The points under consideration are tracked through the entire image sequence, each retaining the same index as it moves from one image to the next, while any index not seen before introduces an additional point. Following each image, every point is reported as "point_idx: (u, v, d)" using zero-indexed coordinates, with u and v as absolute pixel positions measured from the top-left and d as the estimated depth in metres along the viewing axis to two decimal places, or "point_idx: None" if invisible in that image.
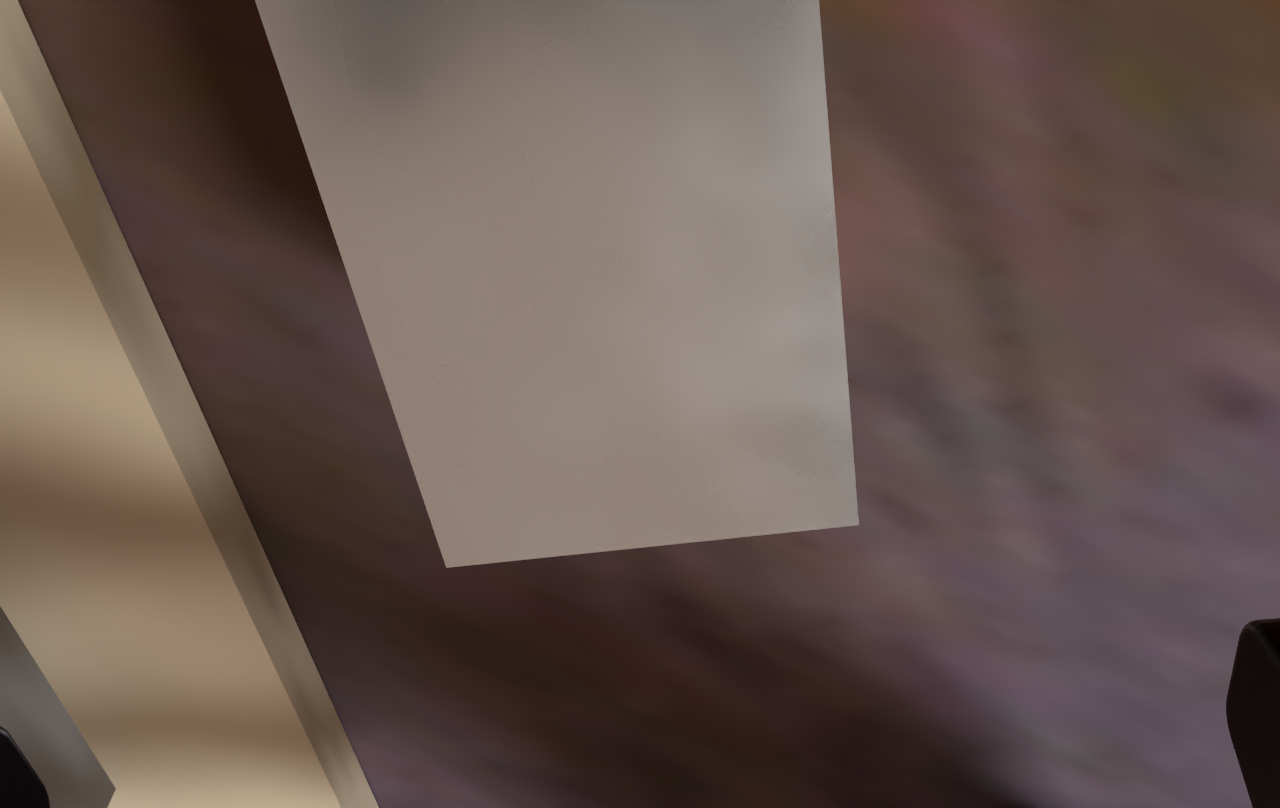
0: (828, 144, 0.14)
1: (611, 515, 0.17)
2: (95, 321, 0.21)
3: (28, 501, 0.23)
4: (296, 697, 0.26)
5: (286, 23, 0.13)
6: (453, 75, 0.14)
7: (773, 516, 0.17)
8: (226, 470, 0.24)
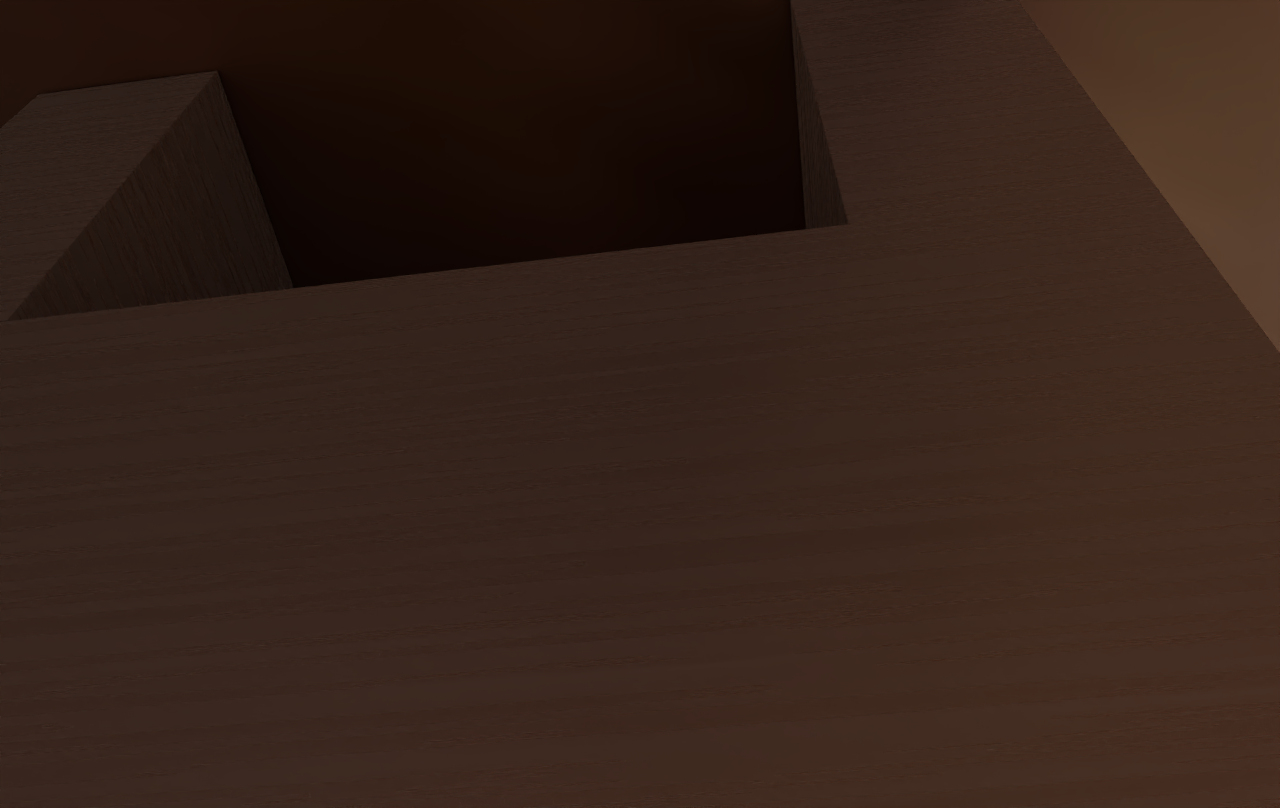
0: None
1: None
2: None
3: None
4: None
5: None
6: None
7: None
8: None
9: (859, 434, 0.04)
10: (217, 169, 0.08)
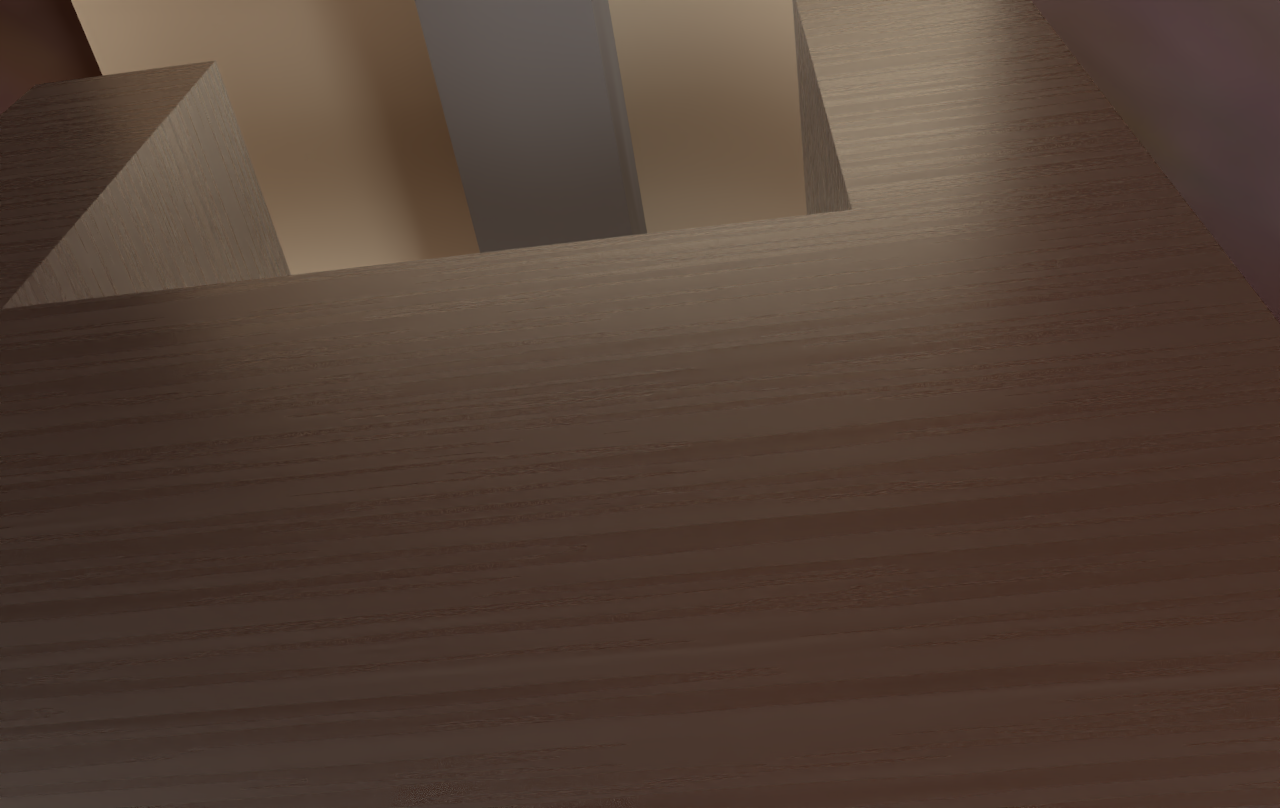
0: None
1: None
2: None
3: (763, 140, 0.17)
4: None
5: None
6: None
7: None
8: None
9: (864, 417, 0.04)
10: (215, 158, 0.07)
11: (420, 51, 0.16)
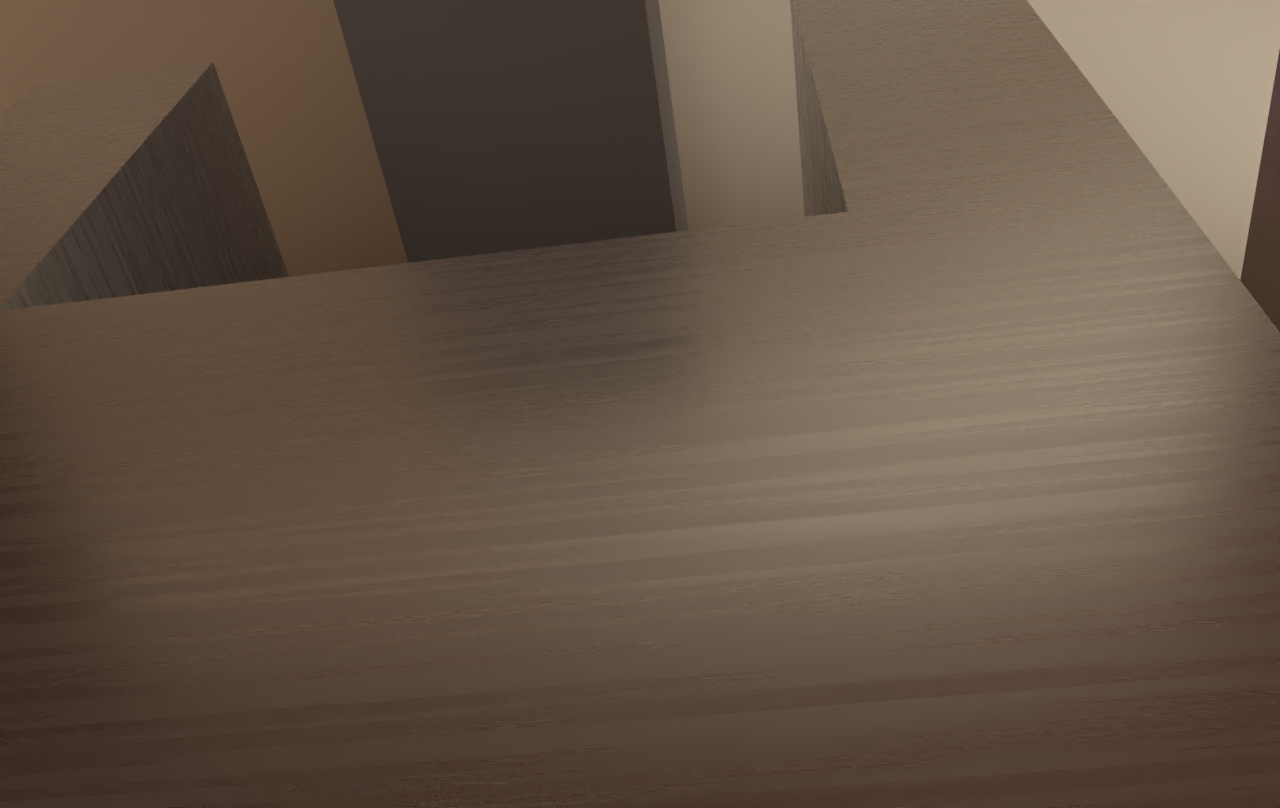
0: None
1: None
2: None
3: None
4: None
5: None
6: None
7: None
8: None
9: (859, 419, 0.04)
10: (213, 159, 0.07)
11: None
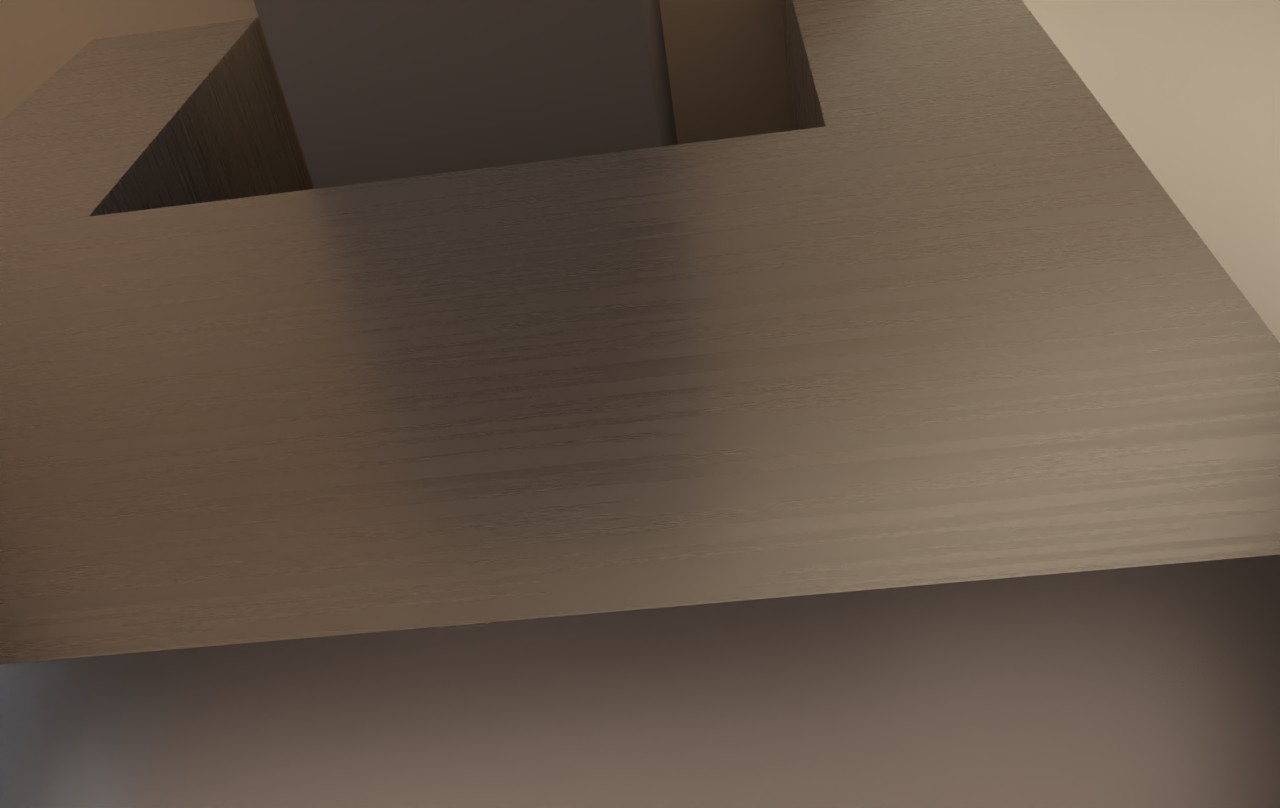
0: None
1: None
2: None
3: None
4: None
5: None
6: None
7: None
8: None
9: (829, 277, 0.04)
10: (256, 106, 0.08)
11: None
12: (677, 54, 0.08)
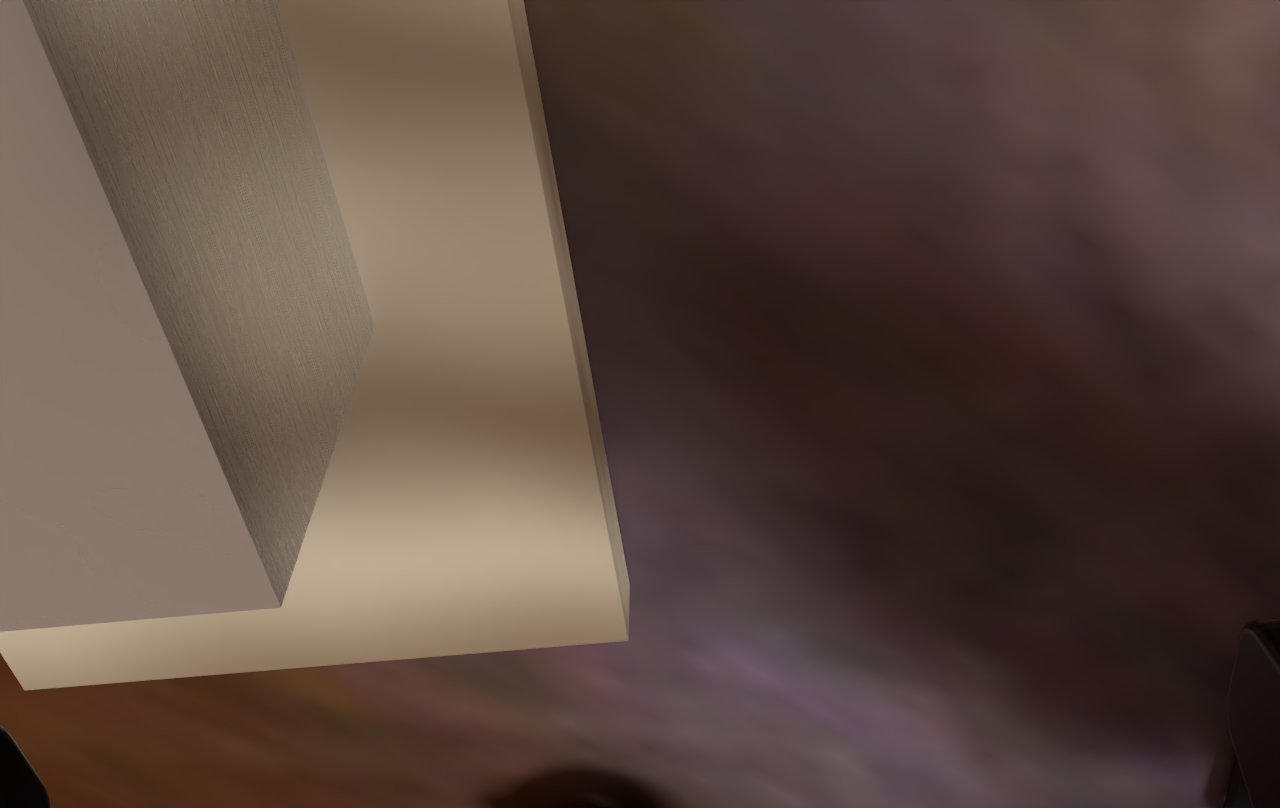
0: (84, 146, 0.11)
1: None
2: None
3: None
4: (578, 367, 0.20)
5: None
6: None
7: (173, 596, 0.14)
8: (525, 12, 0.17)
9: None
10: None
11: None
12: None
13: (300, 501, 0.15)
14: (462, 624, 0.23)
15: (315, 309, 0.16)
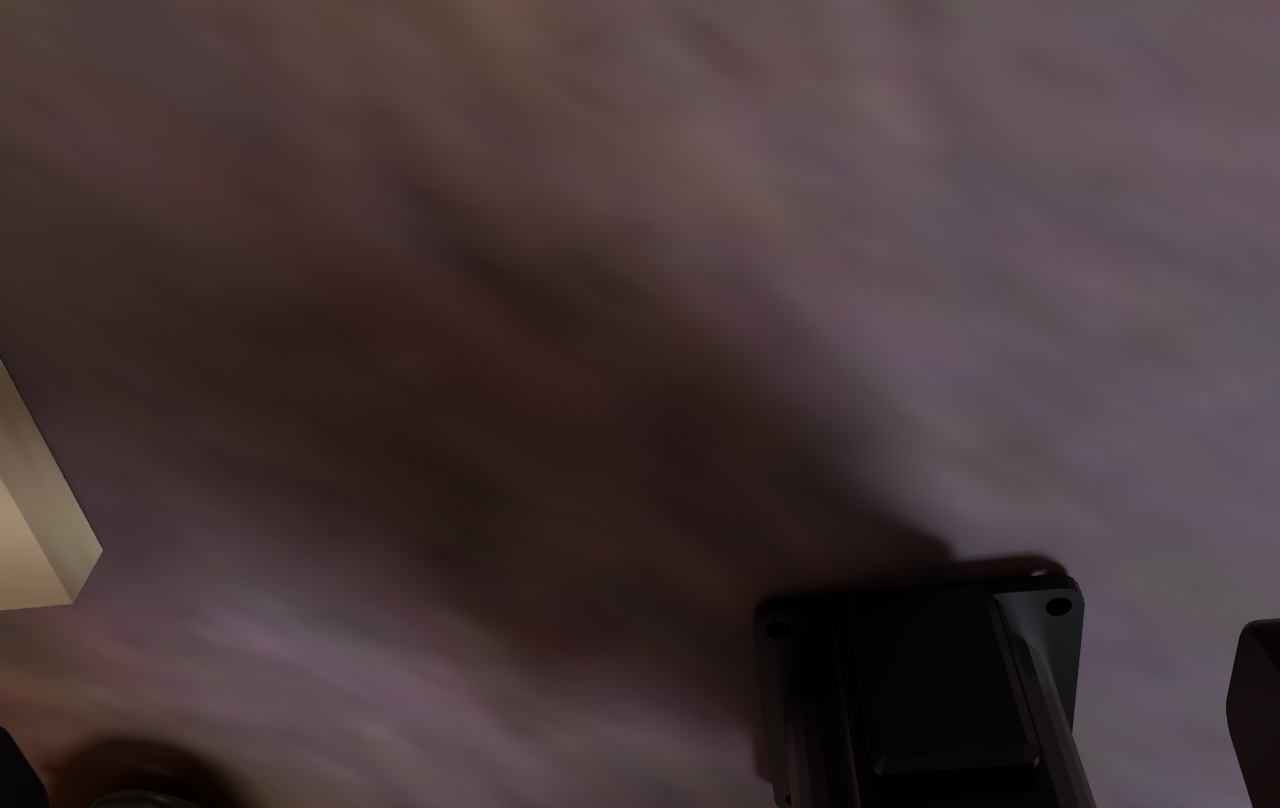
0: None
1: None
2: None
3: None
4: None
5: None
6: None
7: None
8: None
9: None
10: None
11: None
12: None
13: None
14: None
15: None
